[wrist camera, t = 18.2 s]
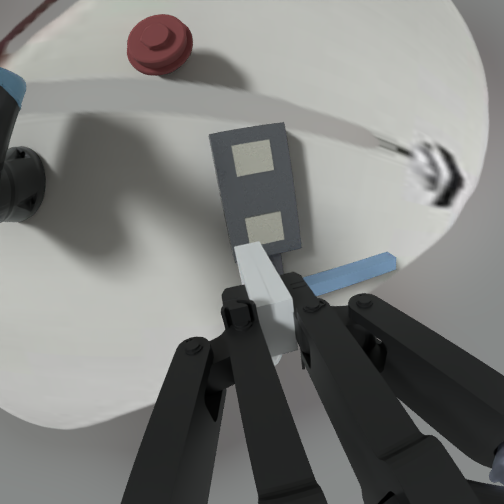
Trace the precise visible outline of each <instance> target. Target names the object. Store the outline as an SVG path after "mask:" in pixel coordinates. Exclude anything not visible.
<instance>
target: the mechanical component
mask: <svg viewBox="0 0 504 504" xmlns="http://www.w3.org/2000/svg"><path fill="white" fill-rule="evenodd" d="M192 47H193V38H192V34H191V32H190V30H189V28H188V27H187V26H186V25H185V24H183V23H182V22H181V21H180V20H179V19H177V18H176V17H174V16H171V15H165V14H159V15H154V16H150V17H148V18H146V19H144V20H142V21H141V22H139V23H138V24H137V25H136V26H135V27H134V28H133V29H132V31H131V32H130V34H129V37H128V41H127V56H128V59H129V61H130V63H131V64H132V66H133V67H134V68H135V69H136V70H138V71H139V72H141V73H143V74H146V75H156V76H157V75H163V74H168V73H171V72H173V71H175V70H176V69H177V68H179V67H180V66H181V65H183V64H184V63H185V62H186V60H187V59H188V57H189V56H190V54H191V51H192Z"/></svg>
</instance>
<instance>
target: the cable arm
mask: <svg viewBox="0 0 504 504" xmlns="http://www.w3.org/2000/svg"><path fill="white" fill-rule="evenodd" d="M395 269H396V257H394V256H393V255H392V254H390V253H389V252H385V253H382V254H378V255H375V256H372V257H369V258H366V259H363V260H360V261H356V262H353V263H350V264H347V265H344V266H340V267H337V268H334V269H331V270H327V271H324V272H321V273H317V274H314V275H310V276H307V277H304V278H303V279H304V280H305V282H306V283H307V284H308V286H309V287H310V289H311V290H312V291H313V293H314V294H315V295H316V296H319V295H322V294H325V293H328V292H331V291H334V290H337V289H340V288H343V287H346V286H349V285H352V284H355V283H358V282H361V281H364V280H367V279H370V278H373V277H376V276H378V275H381V274H384V273H387V272H390V271H392V270H395Z"/></svg>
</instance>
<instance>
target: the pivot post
mask: <svg viewBox="0 0 504 504" xmlns="http://www.w3.org/2000/svg"><path fill="white" fill-rule="evenodd" d="M268 257H269V259H270V261H271V262H272V264H273V266H274V267H275V269H276V271H277V273H278V274H279V275H283V274H284V273H283V266H282V258H281V253H278V254H274V255H269V256H268Z"/></svg>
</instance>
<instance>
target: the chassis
mask: <svg viewBox="0 0 504 504" xmlns="http://www.w3.org/2000/svg"><path fill="white" fill-rule="evenodd" d="M209 140H210V146H211V151H212V156H213V161H214V166H215V171H216V176H217V181H218V186H219V191H220V196H221V201H222V206H223V211H224V215H225V220H226V225H227V230H228V235H229V239H230V244H231V249H232V253H233V257H234V260H235V263H237V259H236V254H235V249H234V247H235V246H240V245H244V244H249V243H253V242H258V241H259V242H260V244H261V245H262V247H263V249H264V250H265V252H266V254H267V256H269V255H274V254H278V253H282V252H287V251H291V250H295V249H300V248H301V239H300V230H299V221H298V213H297V205H296V198H295V190H294V183H293V176H292V169H291V162H290V156H289V149H288V143H287V136H286V130H285V124H284V122H283V123H274V124H267V125H260V126H253V127H247V128H241V129H235V130H229V131H224V132H218V133H213V134H209Z"/></svg>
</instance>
